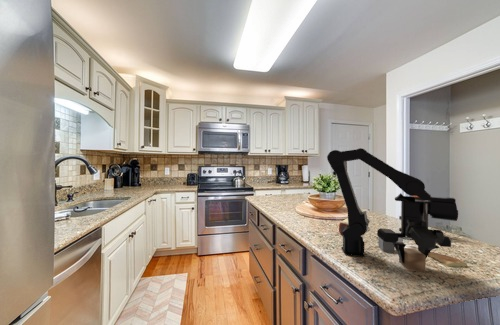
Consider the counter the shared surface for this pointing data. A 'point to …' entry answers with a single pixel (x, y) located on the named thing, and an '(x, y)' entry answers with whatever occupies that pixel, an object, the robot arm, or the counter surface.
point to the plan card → (411, 247)
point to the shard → (447, 260)
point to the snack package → (343, 225)
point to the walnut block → (414, 260)
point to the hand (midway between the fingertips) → (411, 263)
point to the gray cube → (386, 246)
